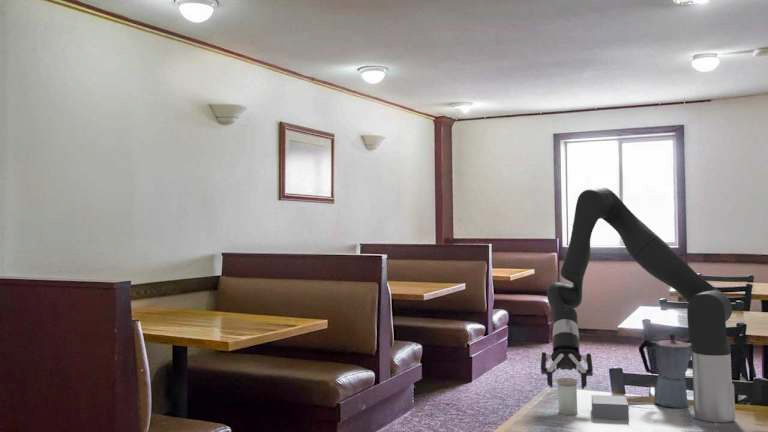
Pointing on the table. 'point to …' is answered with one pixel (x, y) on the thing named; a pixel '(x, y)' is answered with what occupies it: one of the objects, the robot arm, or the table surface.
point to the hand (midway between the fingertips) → (567, 386)
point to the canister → (567, 396)
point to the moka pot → (669, 370)
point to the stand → (610, 407)
